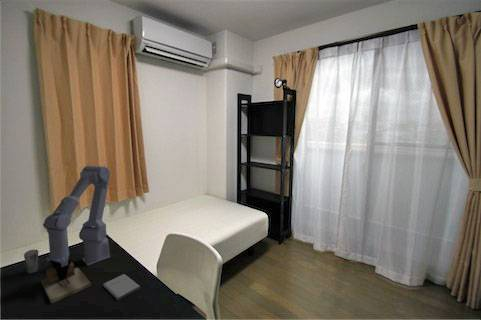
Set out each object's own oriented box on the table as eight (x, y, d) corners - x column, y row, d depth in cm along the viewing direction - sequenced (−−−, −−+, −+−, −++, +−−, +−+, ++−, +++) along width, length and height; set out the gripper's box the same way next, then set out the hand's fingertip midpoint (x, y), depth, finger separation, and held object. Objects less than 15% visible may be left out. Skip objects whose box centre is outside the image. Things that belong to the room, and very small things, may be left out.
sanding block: (71, 271, 93) (71, 261, 93) (74, 275, 91) (74, 264, 90) (47, 280, 87) (46, 269, 87) (49, 284, 85) (48, 273, 84)
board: (78, 269, 96) (77, 267, 96) (91, 285, 86) (90, 283, 86) (41, 283, 87) (41, 280, 87) (51, 303, 77) (51, 300, 77)
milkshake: (32, 275, 92) (30, 252, 91) (22, 273, 93) (20, 250, 92) (44, 268, 96) (42, 247, 95) (34, 267, 97) (32, 245, 96)
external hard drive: (118, 302, 79) (103, 287, 86) (140, 289, 86) (124, 276, 93) (117, 297, 79) (103, 283, 86) (140, 285, 85) (124, 273, 93)
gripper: (41, 241, 89) (44, 273, 90) (50, 254, 80) (52, 289, 81) (63, 235, 94) (65, 265, 96) (73, 247, 85) (75, 280, 87)
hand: (61, 276), depth 89 cm, fingers closed on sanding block, 4 cm apart
